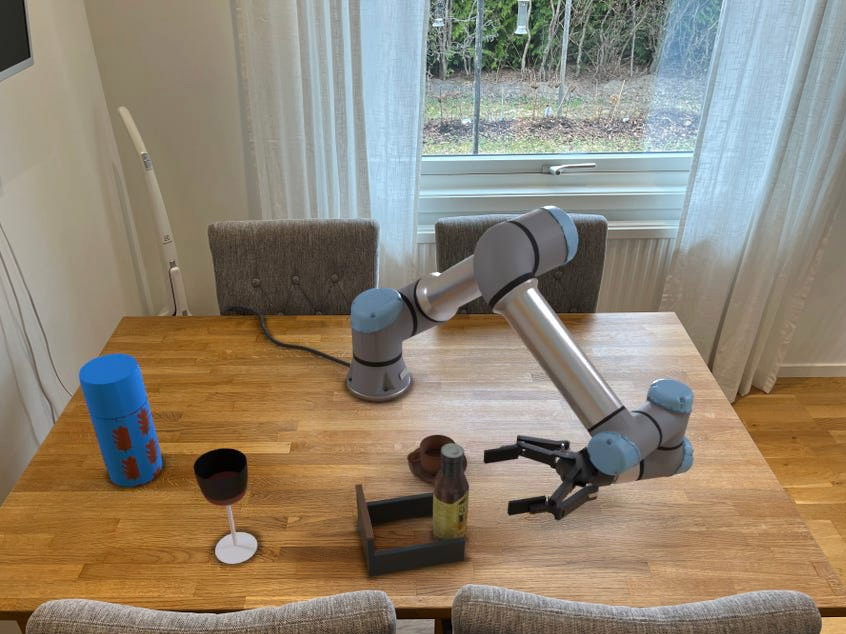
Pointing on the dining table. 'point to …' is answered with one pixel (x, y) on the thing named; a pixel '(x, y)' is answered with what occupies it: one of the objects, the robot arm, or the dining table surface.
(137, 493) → the dining table surface
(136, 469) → the thermos
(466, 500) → the sauce bottle
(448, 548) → the caddy
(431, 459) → the cup and saucer
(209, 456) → the wineglass
